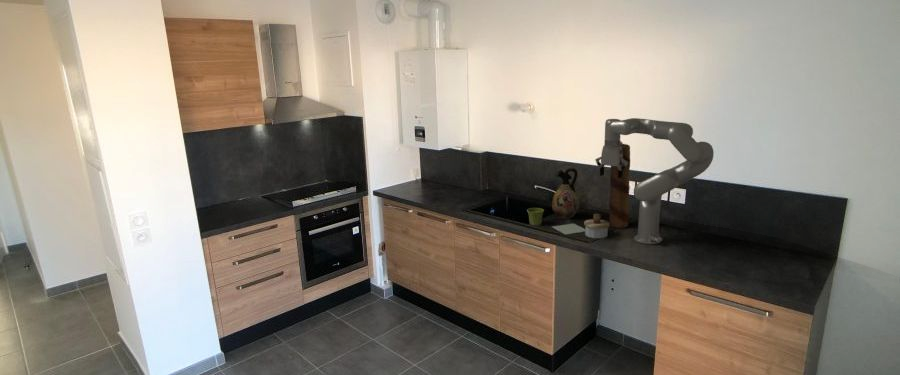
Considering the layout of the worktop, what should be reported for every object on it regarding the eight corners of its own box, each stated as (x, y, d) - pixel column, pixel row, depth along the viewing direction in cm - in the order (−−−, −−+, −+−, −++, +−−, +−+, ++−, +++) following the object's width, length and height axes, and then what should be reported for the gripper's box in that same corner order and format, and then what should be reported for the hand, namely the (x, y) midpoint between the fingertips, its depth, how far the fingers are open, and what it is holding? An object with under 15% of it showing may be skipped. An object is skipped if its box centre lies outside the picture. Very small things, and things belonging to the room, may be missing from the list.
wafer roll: (603, 224, 277) (607, 143, 267) (619, 221, 280) (623, 142, 270) (615, 229, 267) (619, 146, 257) (631, 226, 270) (636, 144, 260)
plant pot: (524, 226, 278) (524, 211, 276) (530, 221, 286) (530, 207, 284) (540, 228, 273) (540, 213, 271) (545, 223, 281) (546, 208, 279)
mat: (588, 232, 264) (588, 230, 264) (565, 235, 260) (565, 234, 260) (573, 224, 277) (573, 223, 277) (551, 228, 273) (551, 226, 273)
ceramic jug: (551, 221, 285) (552, 170, 278) (551, 213, 300) (552, 164, 293) (582, 221, 282) (584, 170, 275) (580, 214, 297) (581, 164, 290)
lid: (614, 226, 253) (615, 216, 251) (593, 230, 249) (594, 219, 247) (599, 220, 264) (599, 210, 263) (579, 223, 260) (579, 213, 259)
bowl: (611, 237, 255) (611, 226, 253) (593, 240, 251) (593, 229, 250) (598, 231, 265) (599, 220, 263) (581, 234, 261) (581, 223, 260)
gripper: (632, 143, 248) (630, 177, 252) (599, 141, 260) (598, 173, 264) (625, 145, 243) (623, 180, 247) (592, 143, 255) (591, 175, 259)
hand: (610, 176), depth 256 cm, fingers open, 9 cm apart
